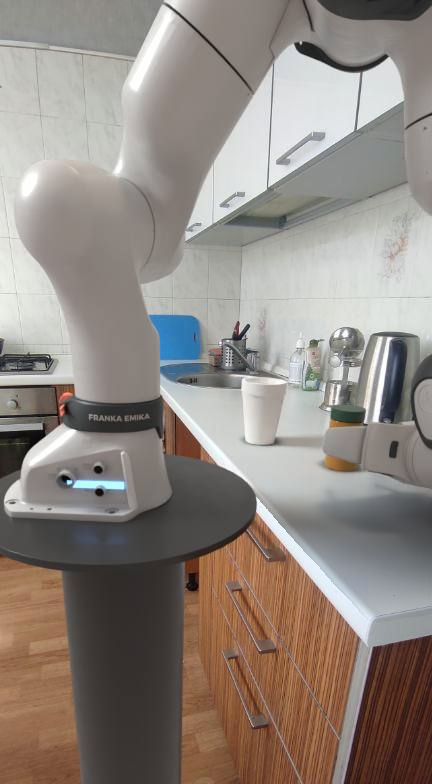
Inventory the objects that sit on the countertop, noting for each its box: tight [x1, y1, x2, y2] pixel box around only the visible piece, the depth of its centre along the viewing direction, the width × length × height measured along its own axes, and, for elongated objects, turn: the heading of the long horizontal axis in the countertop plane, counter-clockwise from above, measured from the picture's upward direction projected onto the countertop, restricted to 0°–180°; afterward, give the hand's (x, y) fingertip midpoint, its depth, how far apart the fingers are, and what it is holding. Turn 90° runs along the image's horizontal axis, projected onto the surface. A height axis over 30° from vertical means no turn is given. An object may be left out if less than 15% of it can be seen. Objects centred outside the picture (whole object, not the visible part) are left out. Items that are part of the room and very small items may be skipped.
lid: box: [329, 403, 367, 422], centre depth 84 cm, size 6×6×2 cm
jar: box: [323, 417, 365, 472], centre depth 86 cm, size 6×6×11 cm
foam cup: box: [240, 376, 288, 446], centre depth 99 cm, size 10×9×13 cm
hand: (355, 445), depth 76 cm, fingers open, 8 cm apart
